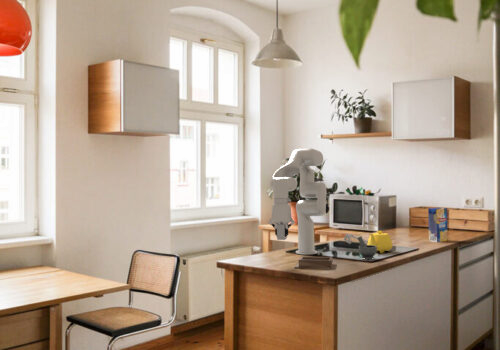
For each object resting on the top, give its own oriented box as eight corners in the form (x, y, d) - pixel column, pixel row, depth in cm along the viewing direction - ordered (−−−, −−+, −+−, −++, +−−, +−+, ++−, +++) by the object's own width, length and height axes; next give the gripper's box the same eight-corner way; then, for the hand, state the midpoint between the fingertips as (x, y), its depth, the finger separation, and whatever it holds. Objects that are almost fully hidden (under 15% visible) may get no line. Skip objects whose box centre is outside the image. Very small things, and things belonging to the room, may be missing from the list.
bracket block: (279, 238, 275) (278, 220, 275) (286, 238, 274) (286, 220, 274) (277, 239, 269) (276, 222, 269) (284, 239, 268) (284, 222, 268)
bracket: (345, 239, 347) (351, 227, 344) (371, 256, 335) (378, 243, 332) (343, 240, 345) (348, 227, 342) (369, 257, 333) (375, 244, 330)
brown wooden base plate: (297, 264, 271) (297, 256, 271) (336, 264, 267) (336, 257, 267) (294, 268, 260) (294, 260, 260) (334, 269, 255) (334, 260, 255)
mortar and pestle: (380, 258, 283) (380, 236, 283) (370, 261, 276) (370, 238, 276) (363, 256, 291) (362, 235, 291) (353, 258, 285) (352, 236, 285)
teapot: (360, 253, 304) (360, 231, 304) (377, 248, 318) (377, 228, 318) (381, 255, 295) (380, 233, 295) (397, 250, 309) (397, 230, 309)
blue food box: (447, 240, 348) (447, 208, 348) (437, 242, 342) (436, 208, 342) (438, 239, 354) (438, 207, 354) (428, 241, 348) (428, 208, 348)
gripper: (297, 200, 273) (298, 235, 273) (266, 201, 277) (267, 235, 277) (295, 201, 266) (296, 237, 266) (263, 202, 270) (264, 237, 270)
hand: (281, 236), depth 272 cm, fingers closed on bracket block, 4 cm apart
